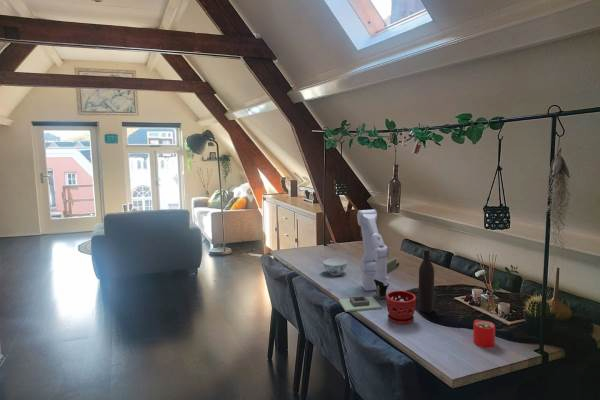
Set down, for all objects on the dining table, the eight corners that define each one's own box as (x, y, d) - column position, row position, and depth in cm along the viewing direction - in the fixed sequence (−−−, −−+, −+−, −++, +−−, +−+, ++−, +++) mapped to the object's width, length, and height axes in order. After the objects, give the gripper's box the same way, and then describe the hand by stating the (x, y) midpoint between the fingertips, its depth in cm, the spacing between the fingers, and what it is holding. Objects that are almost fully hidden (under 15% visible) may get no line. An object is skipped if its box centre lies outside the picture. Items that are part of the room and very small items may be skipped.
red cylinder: (482, 333, 175) (482, 315, 174) (498, 346, 164) (499, 327, 162) (464, 334, 175) (464, 316, 173) (479, 348, 163) (480, 329, 162)
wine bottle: (433, 308, 203) (433, 248, 199) (434, 313, 196) (435, 251, 192) (418, 307, 204) (418, 247, 200) (419, 313, 198) (419, 251, 194)
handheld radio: (378, 275, 257) (396, 264, 276) (383, 276, 255) (400, 265, 274) (378, 264, 256) (396, 255, 275) (383, 265, 254) (401, 256, 273)
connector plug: (376, 296, 220) (376, 285, 220) (383, 295, 221) (383, 284, 220) (378, 298, 216) (378, 287, 216) (386, 298, 217) (386, 287, 216)
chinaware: (352, 272, 261) (351, 260, 260) (337, 279, 250) (337, 266, 249) (333, 268, 271) (332, 257, 270) (318, 274, 260) (318, 262, 259)
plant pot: (380, 318, 193) (380, 294, 191) (401, 312, 199) (401, 288, 197) (400, 329, 181) (400, 303, 180) (422, 322, 188) (422, 296, 186)
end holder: (338, 301, 215) (338, 295, 215) (372, 298, 218) (372, 292, 218) (345, 311, 202) (345, 306, 201) (381, 308, 204) (381, 302, 204)
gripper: (393, 273, 210) (393, 298, 212) (383, 264, 224) (383, 289, 226) (380, 274, 209) (380, 299, 211) (371, 265, 223) (371, 290, 225)
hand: (381, 294), depth 218 cm, fingers closed on connector plug, 4 cm apart
